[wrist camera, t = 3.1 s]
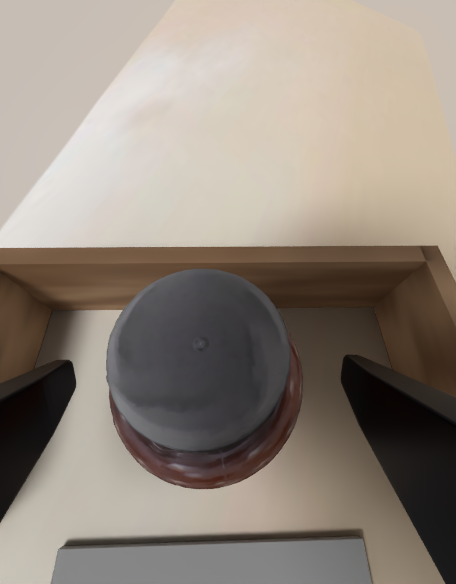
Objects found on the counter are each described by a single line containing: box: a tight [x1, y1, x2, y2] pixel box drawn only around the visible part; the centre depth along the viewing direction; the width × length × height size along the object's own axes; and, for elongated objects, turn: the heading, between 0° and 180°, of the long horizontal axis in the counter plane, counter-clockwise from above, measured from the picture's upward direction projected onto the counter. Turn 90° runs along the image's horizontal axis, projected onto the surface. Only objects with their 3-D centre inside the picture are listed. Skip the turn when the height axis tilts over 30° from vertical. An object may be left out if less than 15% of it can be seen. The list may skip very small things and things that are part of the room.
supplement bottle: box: [106, 269, 303, 489], centre depth 11 cm, size 6×6×11 cm
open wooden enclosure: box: [0, 246, 456, 397], centre depth 13 cm, size 13×24×6 cm, turn 91°
